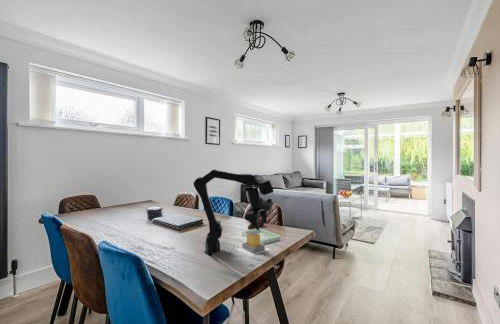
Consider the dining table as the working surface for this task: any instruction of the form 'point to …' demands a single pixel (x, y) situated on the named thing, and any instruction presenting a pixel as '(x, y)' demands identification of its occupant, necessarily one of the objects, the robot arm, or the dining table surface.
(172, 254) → the dining table surface
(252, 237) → the tan rectangular block
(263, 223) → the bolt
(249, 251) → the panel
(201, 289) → the dining table surface
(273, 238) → the parts tray
